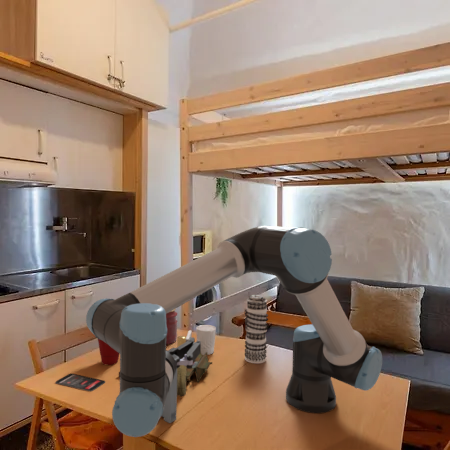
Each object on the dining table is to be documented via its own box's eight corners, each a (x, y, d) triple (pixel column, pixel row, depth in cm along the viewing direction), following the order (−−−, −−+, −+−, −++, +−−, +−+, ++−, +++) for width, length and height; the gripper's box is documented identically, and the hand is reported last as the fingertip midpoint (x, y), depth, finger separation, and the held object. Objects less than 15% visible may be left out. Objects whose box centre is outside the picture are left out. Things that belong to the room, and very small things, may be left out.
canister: (167, 333, 174) (167, 296, 173) (182, 341, 164) (183, 301, 163) (142, 339, 166) (142, 299, 165) (156, 347, 156) (157, 306, 155)
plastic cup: (111, 370, 133) (111, 337, 132) (88, 364, 138) (89, 332, 137) (131, 360, 143) (131, 329, 142) (109, 354, 147) (110, 324, 147)
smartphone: (91, 390, 117) (54, 382, 123) (91, 393, 117) (54, 384, 123) (106, 381, 124) (70, 373, 129) (106, 383, 124) (70, 375, 129)
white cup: (194, 349, 155) (194, 325, 155) (212, 347, 158) (212, 324, 157) (198, 356, 148) (198, 331, 147) (217, 354, 150) (218, 330, 150)
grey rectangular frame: (140, 408, 108) (141, 347, 107) (146, 405, 110) (147, 345, 109) (170, 423, 101) (171, 358, 100) (176, 419, 103) (177, 355, 102)
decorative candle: (238, 357, 148) (240, 295, 147) (257, 352, 153) (258, 292, 152) (253, 365, 140) (254, 299, 139) (271, 360, 145) (273, 297, 144)
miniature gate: (145, 344, 150) (217, 345, 145) (145, 357, 151) (218, 360, 145) (112, 372, 124) (199, 375, 118) (113, 388, 124) (200, 392, 118)
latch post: (186, 391, 119) (187, 336, 118) (185, 396, 116) (186, 339, 115) (177, 391, 119) (178, 335, 118) (175, 395, 116) (176, 339, 115)
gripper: (100, 391, 73) (131, 348, 95) (208, 394, 72) (213, 350, 95) (100, 353, 72) (131, 319, 95) (209, 356, 72) (214, 321, 95)
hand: (172, 335), depth 95 cm, fingers open, 8 cm apart
